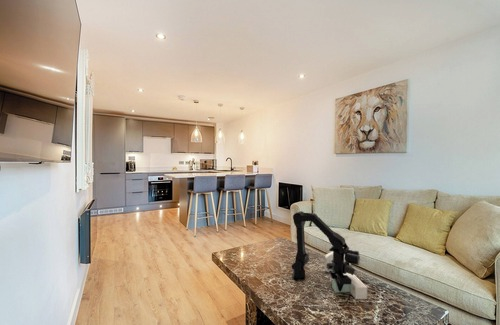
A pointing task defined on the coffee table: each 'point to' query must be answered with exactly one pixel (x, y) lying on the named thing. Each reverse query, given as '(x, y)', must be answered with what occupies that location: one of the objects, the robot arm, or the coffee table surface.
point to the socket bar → (357, 287)
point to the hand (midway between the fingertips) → (338, 288)
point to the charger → (345, 288)
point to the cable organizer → (330, 260)
